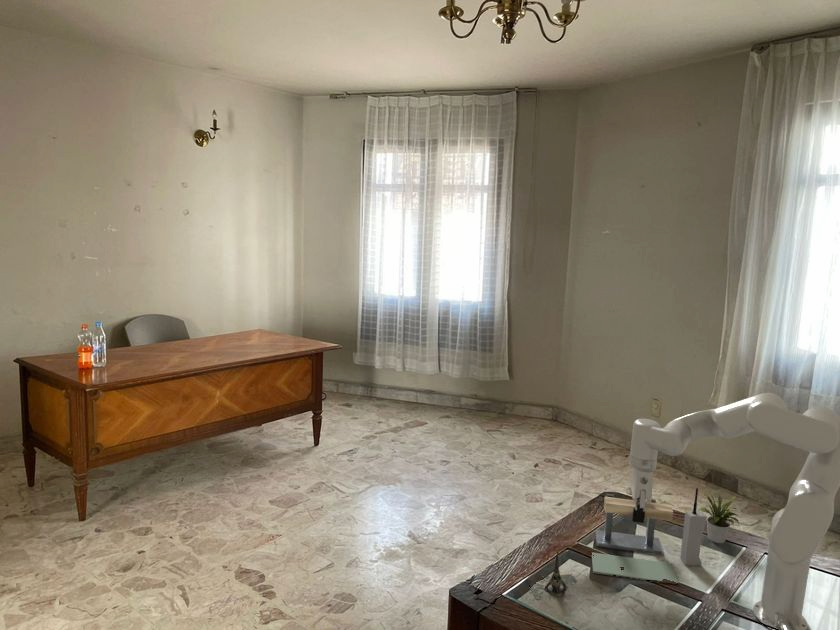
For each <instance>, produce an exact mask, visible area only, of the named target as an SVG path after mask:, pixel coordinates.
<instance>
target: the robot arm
mask: <svg viewBox="0 0 840 630" xmlns="http://www.w3.org/2000/svg"><path fill="white" fill-rule="evenodd" d="M753 432H756V433H757V434H759V435H762V436H764V437H767V438H768V439H772V440H774V441H777V442H779V443H783V444H785V445H788V446H791V447H794V448H796V449H800V450H802V451H805V452H808V453H809V454H808V456H807V458H806V460H805V462H804V465H803V466H802V468H801V470H800V472H799V474H798V475H797V477H796V479H795V481H794V482H793V484H791V485H792V486H791V487H790V489H789V493H788V498H787V503H786V505H785V507H784V508H782V509H779V510H778V511H777V512H776V513H775V514H774V515H773V518H772V521H771V527H770V532H769V533H770V534H769V539H768V541H769V543H768V550H767V557H766V562H765V563H766V564H765V571H764V578H763V585H762V593H761V597H760V598H761V599H760V601H758V602H756V603H754V604H753V606H752V607H753V608H752V613H753V612H754V614H755V616H756V617H757V618H758V619H759V620H760V621H762V622H763V623H765V624H768V625H770V626H771V627H774V628H776V629H779V630H807V629H808V622H807V619H806V618H805V616H803V610H804V603H805V598H806V597H805V596H806V593H807V592H806V591H807V584H808V577H809V573H810V572H809V571H810V568H811V561H812V557H813V556H814V554H815V552H816V551H817V549H818V547H819V546H820V544H821V542H822V540H823V538H824V536H825V535H826V533H827V531H828V530H829V528H830V527H831V524H832V521H833V518H834V514H835V497H836V494H837V492H838V490H839V489H840V416H839V415H838V413H836V412H835V411H833V410H832V409H830V408H827V407H825V406H813V407H810V408H809V409H807V410H805V411H804V412H803V413H798V412H796V411H793V410H790V409H788V408H787V404H786V402H785V401H784V399H783V398H782V397H781V396H779V395H778V394H776V393H773V392H764V393H758V394H755V395H753V396H749V397H747V398H744V399H740V400H738V401H734V402H731V403H729V404H726V405H722V406H720V407H716V408H711V409H710V408H709V409H705V410H699V411H696V412H693V413H690V414H689V413H688V414H686V415H684V416H681V417H678V418H674V419H673V420H671V421H669V422H668V423H666V425H665V426H664V427H661V426H660V423H659V422H658V421H656V420H654V419H649V418H638V419H635V420H634V422H633V424H632V432H631V433H632V434H631V443H630V451H629V452H630V453H629V463H628V464H629V466H630V467H631V468H632V469H631V477H630V478H631V479H630V489H631V490H630V491H631V495H632V496H631V500H635V509H633V516H632V520H631V521H632V522H633V523H639V524H644V523H645V503H646V502H647V503H651V501H652V498H653V486H654V485H653V484H654V483H653V482H654V471H656V469H657V464H658V454H659V453H661V454H664V455H665V456H666V455H667V456H671V457H678V456H680V455H682V454H683V452H684V451H685V450H686V449H687V446H688V445H689V443H691V442H693V441H697V440H699V439H704V438H706V437H710V436H719V437H722V438H725V439H734V438H736V437H740V436H742V435H745V434H749V433H753ZM638 502H640V504H638V505H637V503H638ZM754 614H753V615H754ZM755 616H754V617H755ZM756 617H755V618H756ZM762 619H763V620H762ZM764 620H766V621H764Z"/></svg>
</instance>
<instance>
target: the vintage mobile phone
mask: <svg viewBox="0 0 840 630" xmlns="http://www.w3.org/2000/svg"><path fill="white" fill-rule="evenodd" d="M698 494H699V488H695V494H694V496H695V497H694V502H693V509H692V510H690V509H689V510H688V509H687V510H684V511H685V512H684V522H683V530H682V531H683V532H682V540H681V548H680V549H681V550H680V560H681V561H682V563H683V564H684V565H685V566H692V567H693V566H694V567H695V566H696V567H700V566H702V561H701V558H700V553H701V543H702V537H703V534H704V532H705V527H706V525H707V518H708V516H707V515H706V514H705V512H702V510H697V507H698V496H699V495H698Z"/></svg>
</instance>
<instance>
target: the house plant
mask: <svg viewBox="0 0 840 630" xmlns="http://www.w3.org/2000/svg"><path fill="white" fill-rule="evenodd" d="M693 494H694V495H695V494H696V492H695V493H693ZM704 495H705V498H707V499H705V500H706V502H708V501H709V502H708V503H709V504H708V505H706V506H705V507H701V508H700V509H699V511H702V512H703V513H707V514H709V516H707V520H706V529H707V538H708V540H709V541H710V542H713V543H715V544H725V542H726V540H727V537H728V533H729V530H730V527H731V524H733V525H735V521H736V523H738V524H739V523H740V521H739V520H738V519H737V517H739V518H740V519H742V517H741V516H739V514H737V513H735V512H733V510H734V509H735V508H737V507H740V505H735V506H732V507H730V506H731V505H732V504H733V502H734V500H735V499H736V498H737V495H735V496H732V497H731V498H729V499H728V500H727V501H725V502H724V503H723V504H722V501H723V497H724V492H723V493H722V494H720V493H718V498H717V503H718V505H717V503H716V502H715V499H714V497H713V495H712V494H710V493H708V492H707V493H704ZM709 495H710V496H709ZM697 496H701V497H703V498H704V496H703V495H701V494H699V493H698V495H697ZM711 498H712V499H711ZM707 506H708V507H709V509H710V510H709V509H707V508H706V507H707ZM729 507H730V508H729ZM710 511H711V512H710ZM733 516H737V517H733Z"/></svg>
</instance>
